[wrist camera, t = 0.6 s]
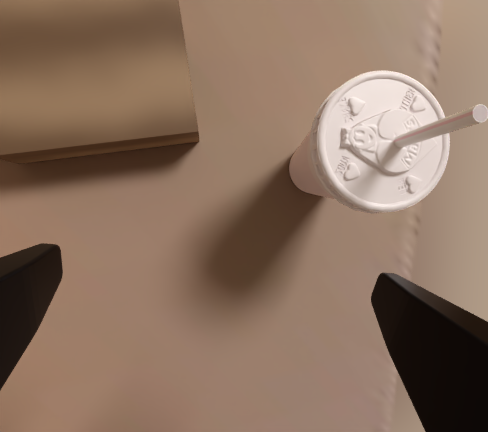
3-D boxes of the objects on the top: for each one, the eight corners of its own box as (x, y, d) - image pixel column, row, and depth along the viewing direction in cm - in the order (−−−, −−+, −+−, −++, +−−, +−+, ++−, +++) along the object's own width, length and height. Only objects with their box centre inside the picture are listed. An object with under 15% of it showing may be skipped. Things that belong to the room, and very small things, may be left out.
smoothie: (351, 214, 24) (548, 220, 10) (268, 209, 23) (359, 209, 10) (356, 129, 24) (561, 20, 10) (273, 121, 23) (372, -8, 10)
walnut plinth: (199, 141, 23) (198, 131, 20) (19, 163, 21) (-12, 156, 18) (173, -31, 22) (168, -68, 19) (-13, -20, 21) (-49, -58, 18)
